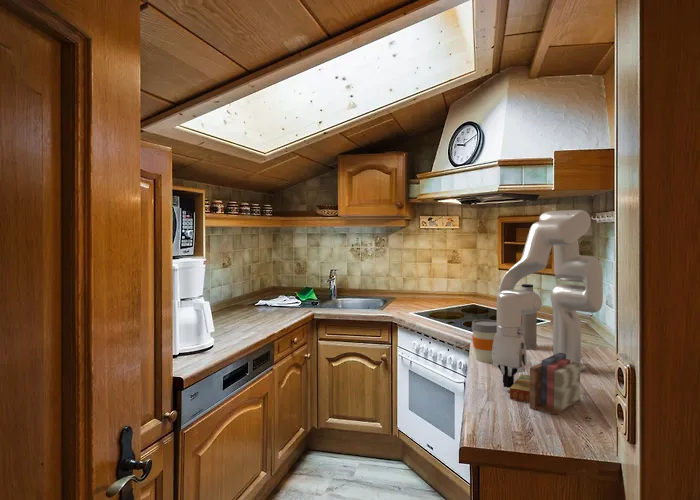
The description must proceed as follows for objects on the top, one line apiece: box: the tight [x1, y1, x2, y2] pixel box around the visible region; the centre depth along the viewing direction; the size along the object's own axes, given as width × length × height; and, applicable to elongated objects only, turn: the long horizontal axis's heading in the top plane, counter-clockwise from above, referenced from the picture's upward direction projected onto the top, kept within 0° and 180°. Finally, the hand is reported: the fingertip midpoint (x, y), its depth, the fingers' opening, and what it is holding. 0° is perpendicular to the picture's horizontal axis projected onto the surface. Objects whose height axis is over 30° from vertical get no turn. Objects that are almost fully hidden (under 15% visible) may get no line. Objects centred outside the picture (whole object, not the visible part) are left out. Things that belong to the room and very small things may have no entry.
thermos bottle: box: [520, 283, 538, 350], centre depth 196 cm, size 8×8×28 cm
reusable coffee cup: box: [471, 319, 497, 364], centre depth 179 cm, size 13×13×15 cm
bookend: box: [529, 353, 581, 416], centre depth 133 cm, size 18×8×14 cm, turn 131°
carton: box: [509, 373, 530, 403], centre depth 143 cm, size 8×16×4 cm, turn 147°
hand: (508, 386), depth 145 cm, fingers closed
